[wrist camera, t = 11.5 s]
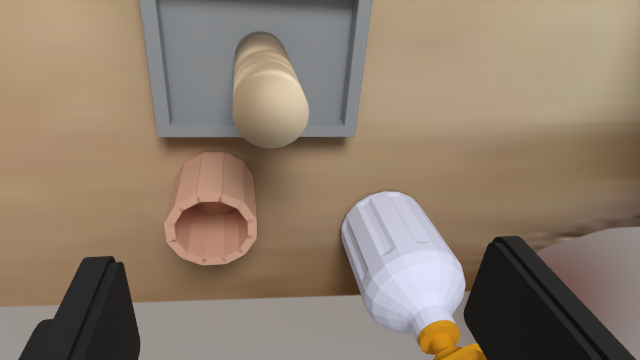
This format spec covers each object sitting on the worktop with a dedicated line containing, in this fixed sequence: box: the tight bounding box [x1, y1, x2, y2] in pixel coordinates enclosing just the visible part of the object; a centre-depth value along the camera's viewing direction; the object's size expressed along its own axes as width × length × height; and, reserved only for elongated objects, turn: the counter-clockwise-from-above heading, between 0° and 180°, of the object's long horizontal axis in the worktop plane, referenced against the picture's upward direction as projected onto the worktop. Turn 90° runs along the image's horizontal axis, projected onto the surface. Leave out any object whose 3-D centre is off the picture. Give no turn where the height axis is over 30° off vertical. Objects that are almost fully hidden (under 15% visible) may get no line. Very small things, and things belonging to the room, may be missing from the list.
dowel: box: [233, 31, 309, 149], centre depth 26 cm, size 4×4×12 cm
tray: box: [139, 0, 372, 137], centre depth 31 cm, size 16×12×2 cm
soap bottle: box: [341, 191, 487, 360], centre depth 33 cm, size 9×9×25 cm
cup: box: [164, 152, 257, 265], centre depth 34 cm, size 7×7×7 cm
